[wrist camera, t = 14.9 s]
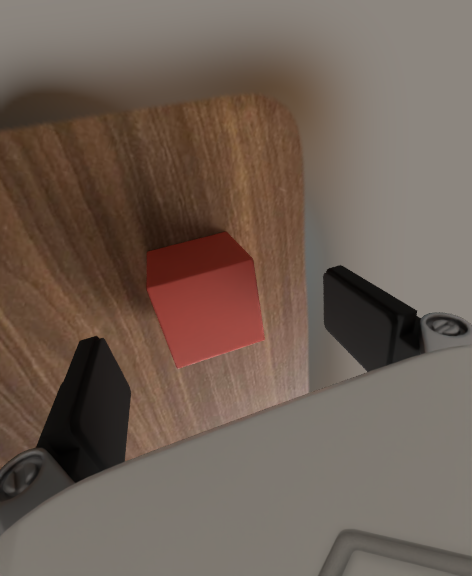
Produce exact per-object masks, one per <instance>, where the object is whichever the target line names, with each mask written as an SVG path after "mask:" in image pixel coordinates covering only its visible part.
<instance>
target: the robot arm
mask: <svg viewBox="0 0 472 576" xmlns="http://www.w3.org/2000/svg"><path fill="white" fill-rule="evenodd" d="M323 280H324V281H323V284H324V325H325V328H326V329H327V330H328V332H330V334H331V335H332V336H333V337H334V338H335V339H336V340H337V341H338V342H339V343H340V344H341V345H342V346H343V347H344V348H345V349H346V350H347V351H348V352H349V353H350V354H351V355H352V356H353V357H354V358H355V359H356V360H357V361H358V362H359V363H360V364H361V365H362V366H363V368H365V370H366V371H367V373H364V374H361V375H359V376H356V377H353V378H350V379H347V380H345V381H342V382H339V383H336V384H333V385H331V386H328V387H325V388H322V389H319V390H317V391H314V392H311V393H308V394H305V395H303V396H300V397H297V398H294V399H292V400H289V401H286V402H283V403H281V404H278V405H275V406H272V407H270V408H267V409H264V410H262V411H259V412H256V413H253V414H251V415H248V416H245V417H242V418H240V419H237V420H234V421H232V422H229V423H226V424H223V425H221V426H218V427H215V428H213V429H210V430H207V431H205V432H202V433H199V434H196V435H194V436H191V437H188V438H186V439H183V440H180V441H178V442H175V443H172V444H170V445H167V446H164V447H162V448H159V449H156V450H154V451H151V452H149V453H146V454H144V455H141V456H138V457H136V458H133V459H131V460H128V461H125V451H126V441H127V430H128V419H129V409H130V398H131V391H130V387H129V385H128V383H127V381H126V379H125V377H124V375H123V373H122V371H121V369H120V367H119V366H118V364H117V362H116V360H115V358H114V356H113V354H112V352H111V350H110V348H109V346H108V345H107V343H106V341H105V339H104V338H101V339H99V338H98V337H97V336H94V337H91V338H88V339H84V340H81V341H80V342H79V344H78V346H77V349H76V351H75V354H74V356H73V359H72V362H71V364H70V367H69V369H68V372H67V374H66V377H65V379H64V382H63V383H62V384H61V386H60V388H59V391H58V393H57V396H56V398H55V401H54V403H53V406H52V408H51V411H50V413H49V416H48V418H47V421H46V424H45V426H44V429H43V431H42V434H41V436H40V439H39V441H38V444H37V446H36V448H33V449H29V450H26V451H24V452H22V453H20V454H18V455H17V456H15V457H14V458H13V459H11V460H10V461H8V462H7V463H6V464H5V465H4V466H3V467H2V468H1V469H0V576H472V325H471V324H470V323H469V322H468V321H466V320H465V319H463V318H461V317H458V316H456V315H452V314H447V313H429V314H427V315H424V316H423V317H422V318H419V317H418V316H416V315H417V310H415V309H413V308H411V307H410V306H408V305H407V304H405V303H403V302H402V301H400V300H398V299H396V298H395V297H393V296H392V295H390V294H388V293H387V292H385V291H383V290H382V289H380V288H378V287H376V286H375V285H373V284H372V283H370V282H368V281H367V280H365V279H363V278H362V277H360V276H358V275H357V274H355V273H353V272H352V271H350V270H348V269H347V268H345V267H343V266H341V265H340V266H336V267H332V268H329V269H327V271H326V273H325V274H324V276H323Z"/></svg>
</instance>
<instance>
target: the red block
mask: <svg viewBox="0 0 472 576" xmlns="http://www.w3.org/2000/svg"><path fill="white" fill-rule="evenodd" d="M146 289H147V292H148V295H149V297H150V300H151V302H152V305H153V308H154V310H155V313H156V315H157V318H158V321H159V323H160V326H161V328H162V331H163V334H164V336H165V339H166V341H167V344H168V347H169V349H170V352H171V354H172V357H173V360H174V362H175V365H176V367H177V369H179V368H182V367H185V366H188V365H191V364H194V363H197V362H200V361H203V360H206V359H209V358H212V357H215V356H218V355H221V354H224V353H227V352H230V351H233V350H236V349H239V348H242V347H245V346H248V345H251V344H254V343H257V342H260V341H263V340H265V337H264V330H263V323H262V316H261V309H260V303H259V296H258V289H257V282H256V275H255V269H254V262H253V258H252V257H251V256H250V255H249V254H248V253H247V252H246V251H245V250H244V249H243V248H242V247H241V246H240V245H239V244H238V243H237V242H236V241H235V240H234V239H233V238H232V237H231V236H230V235H229V234H228V233H227V232H222V233H218V234H214V235H211V236H207V237H203V238H199V239H195V240H191V241H187V242H183V243H179V244H175V245H171V246H167V247H163V248H160V249H156V250H152V251H148V252H147V283H146Z"/></svg>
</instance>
